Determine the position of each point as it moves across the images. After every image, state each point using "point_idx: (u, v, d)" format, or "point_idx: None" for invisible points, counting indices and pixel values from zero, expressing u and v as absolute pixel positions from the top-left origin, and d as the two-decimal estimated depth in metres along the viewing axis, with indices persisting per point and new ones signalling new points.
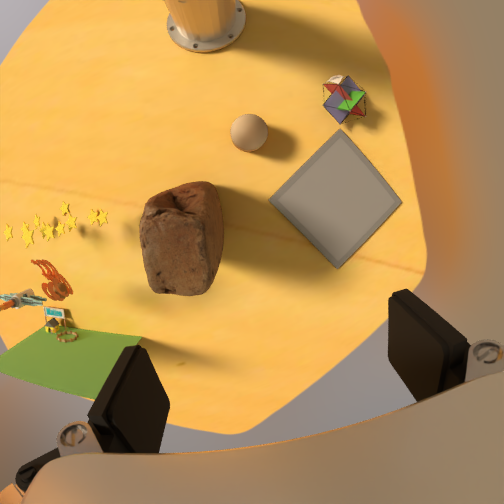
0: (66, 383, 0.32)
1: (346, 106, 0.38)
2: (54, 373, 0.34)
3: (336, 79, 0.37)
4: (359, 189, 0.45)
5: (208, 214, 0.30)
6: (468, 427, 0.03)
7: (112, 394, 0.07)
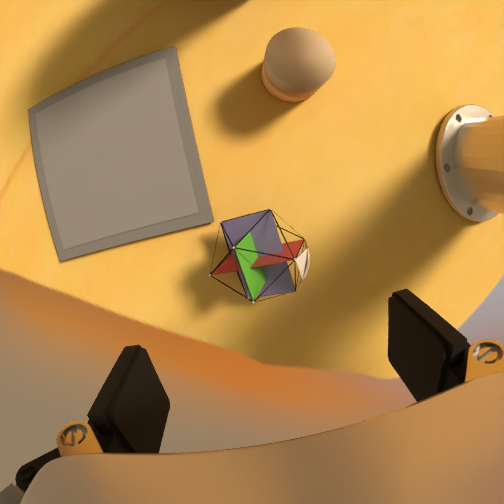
0: None
1: (245, 249, 0.21)
2: None
3: (303, 263, 0.21)
4: (104, 198, 0.24)
5: None
6: (468, 427, 0.03)
7: (112, 394, 0.07)
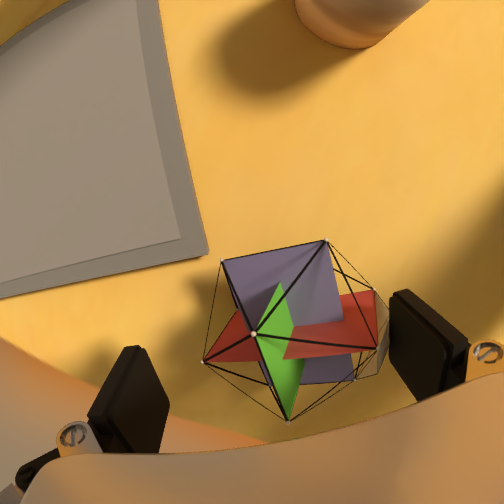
0: None
1: (274, 325, 0.10)
2: None
3: (383, 345, 0.10)
4: (32, 210, 0.13)
5: None
6: (468, 427, 0.03)
7: (112, 394, 0.07)
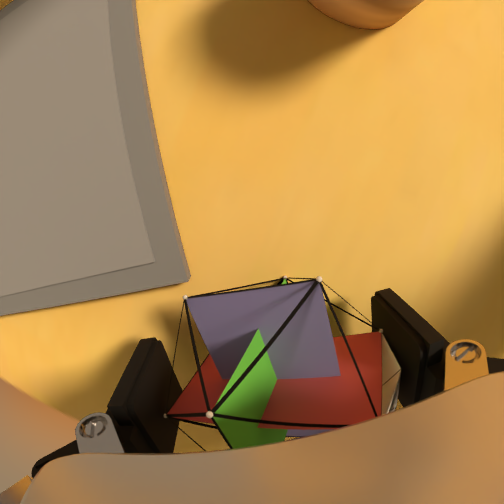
0: None
1: (245, 389, 0.07)
2: None
3: (388, 409, 0.07)
4: None
5: None
6: (468, 427, 0.03)
7: (131, 385, 0.08)
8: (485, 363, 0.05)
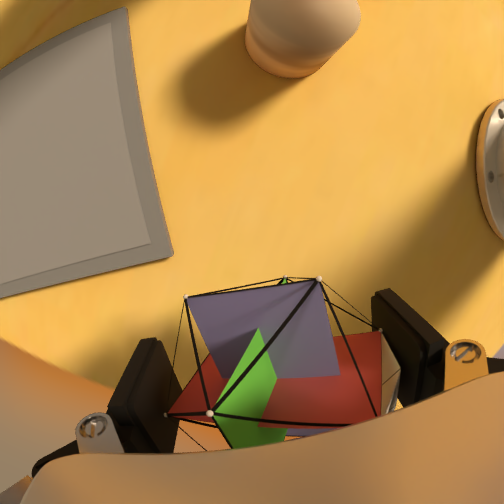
0: None
1: (245, 388, 0.07)
2: None
3: (388, 408, 0.07)
4: (27, 221, 0.15)
5: None
6: (468, 427, 0.03)
7: (131, 385, 0.08)
8: (485, 363, 0.05)
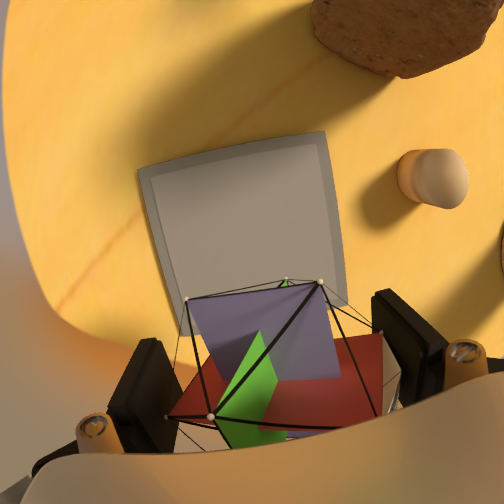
0: None
1: (246, 391, 0.07)
2: None
3: (389, 411, 0.07)
4: (245, 282, 0.27)
5: (479, 7, 0.07)
6: (468, 427, 0.03)
7: (131, 385, 0.08)
8: (485, 363, 0.05)
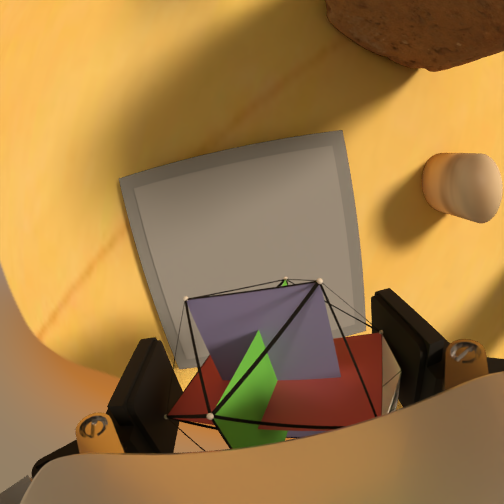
0: None
1: (246, 391, 0.07)
2: None
3: (388, 410, 0.07)
4: None
5: None
6: (468, 427, 0.03)
7: (131, 385, 0.08)
8: (485, 363, 0.05)
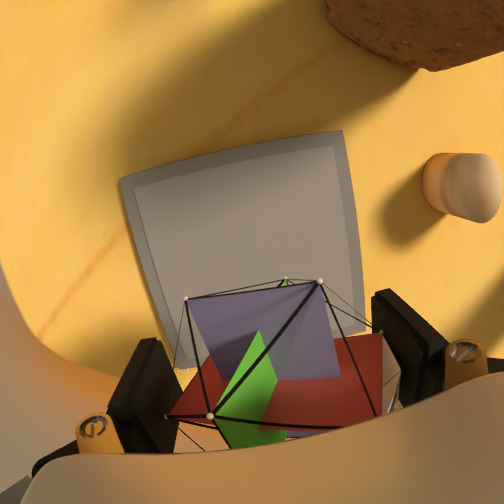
0: None
1: (246, 391, 0.07)
2: None
3: (388, 410, 0.07)
4: None
5: None
6: (468, 427, 0.03)
7: (131, 385, 0.08)
8: (485, 363, 0.05)
